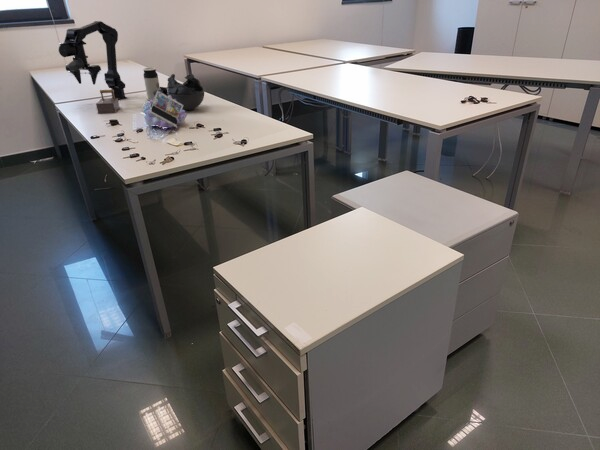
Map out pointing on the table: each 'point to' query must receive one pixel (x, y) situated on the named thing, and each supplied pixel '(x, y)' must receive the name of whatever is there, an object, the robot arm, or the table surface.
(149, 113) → the crystal picture frame
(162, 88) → the speaker
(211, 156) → the table surface
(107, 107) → the key box
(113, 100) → the lid
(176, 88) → the bowl of black rocks
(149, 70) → the travel mug
